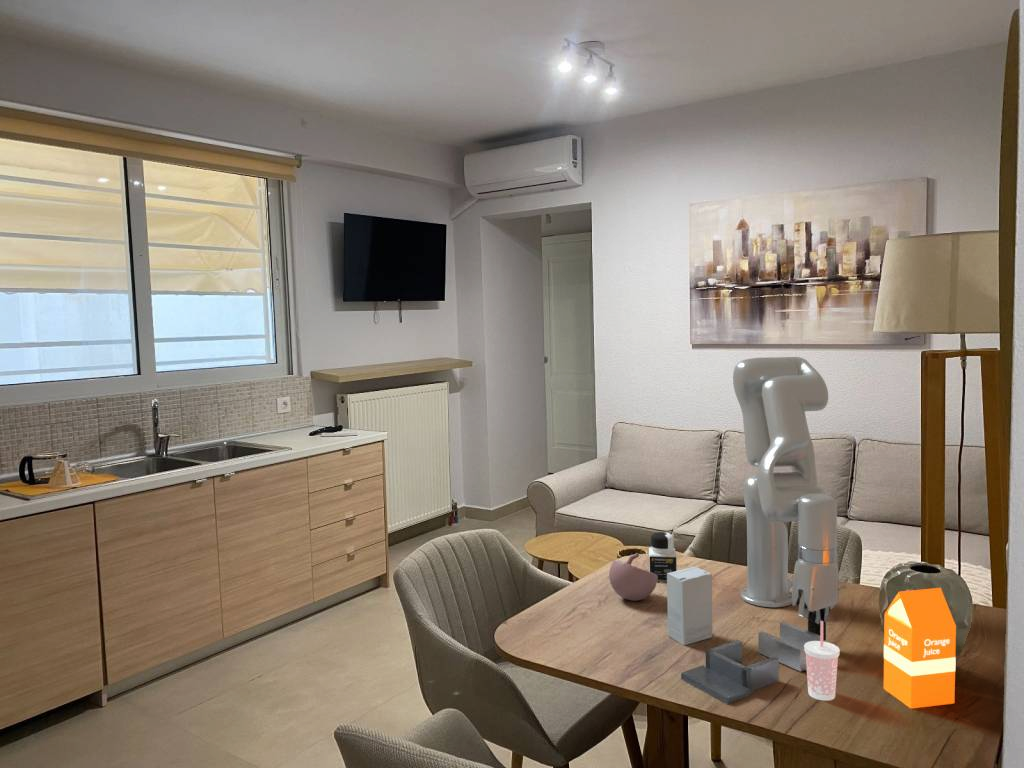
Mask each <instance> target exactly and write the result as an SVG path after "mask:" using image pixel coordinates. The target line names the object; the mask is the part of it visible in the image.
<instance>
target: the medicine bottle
mask: <svg viewBox="0 0 1024 768" xmlns="http://www.w3.org/2000/svg"><path fill="white" fill-rule="evenodd" d="M674 541H675V540H674V535H673V534H671V533H670V532H664V531H661V532H660V531H659V532H655V533H653V534H651V536H650V547H649V548H648V559H649V560H648V571H650V572H652V573H654V574H656V575H657V576H658V580H657V582H667V573H671V572H675V571H678V570H677V568H678V567H677V566H678V563H677V551H676V548H675V546H674V543H675V542H674Z"/></svg>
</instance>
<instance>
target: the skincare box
mask: <svg viewBox="0 0 1024 768" xmlns="http://www.w3.org/2000/svg"><path fill="white" fill-rule="evenodd" d="M712 578H713V574H712V573H710V572H708V571H706V570H704V569H702V568H700V567H697V566H696V565H695V566H691V567H687V568H684V569H679V570H677V571H675V572H671V573H667V581H666V590H667V591H666V594H667V595H666V597H667V599H666V600H667V635H668V637H669V638H671V639H673V640H675V641H676V642H677V643H679V644H681V645H682V646H687V645H691V644H693V643H697V642H700V641H703V640H708V639H711V638H713V581H712V580H713V579H712Z"/></svg>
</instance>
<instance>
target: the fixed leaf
mask: <svg viewBox="0 0 1024 768" xmlns="http://www.w3.org/2000/svg"><path fill="white" fill-rule="evenodd" d="M742 648H743V642H742V641H740V640H739V639H736V640H733V641H730V642H727V643H724V644H721V645H718V646H716V647H713V648H709V649H707V650H705V665H703V664H701V665H699V666H696V667H695V668H692V669H688V670H685V671H683V672H681V674H680V677H681V680H682V681H685V682H686V683H688V684H689V685H692V686H693V687H695V688H696V689H699V690H701V691H702V692H704V693H706V694H708V695H710V697H711V696H712V697H714V699H717V700H719V701H721V702H722V703H724V704H726V705H730V704H732V703H735V702H738V701H740V700H743V699H745V698H748V697H750V696H751V693H753V692H756V691H758V690H760V689H762V688H765V687H767V686H771V685H772V684H773V685H774V684H776V683H778V682H779V681H780V676H779V675H780V662H779V658H776V657H774V656H773V657H771V658H769V657H768V658H765V659H763V660H760V661H757V662H755V663H753V664H749V665H747V666H746V665H743V649H742Z"/></svg>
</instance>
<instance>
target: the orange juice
mask: <svg viewBox="0 0 1024 768" xmlns="http://www.w3.org/2000/svg"><path fill="white" fill-rule="evenodd" d="M883 621H884V628H883V629H884V632H883V633H884V634H883V636H884V638H883V639H884V640H883V641H884V642H883V690H885V691H886V692H887V693H889V694H890V695H892V696H893V697H894V698H896V699H897V700H899V701H900V702H902V703H903V704H904V705H905V706H906V707H908V708H909V709H918V708H926V707H934V706H942V705H952V704H955V698H956V697H955V690H956V687H955V685H956V662H957V661H956V660H957V659H956V658H957V657H956V649H957V648H956V644H957V643H956V639H957V638H956V635H957V624H956V623H955V620H954V618H953V616H952V613H951V610H950V607H949V605H948V603H947V600H946V598H945V595H944V592H943V590H942V587H933V588H924V589H923V588H922V589H916V590H915V589H913V590H903V591H898V593H897V594H896V595H895V597H894V598H893V600H892V601H891V603H890V604H889V606H888V608H887V609H886V611H885V612H884V620H883Z"/></svg>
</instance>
